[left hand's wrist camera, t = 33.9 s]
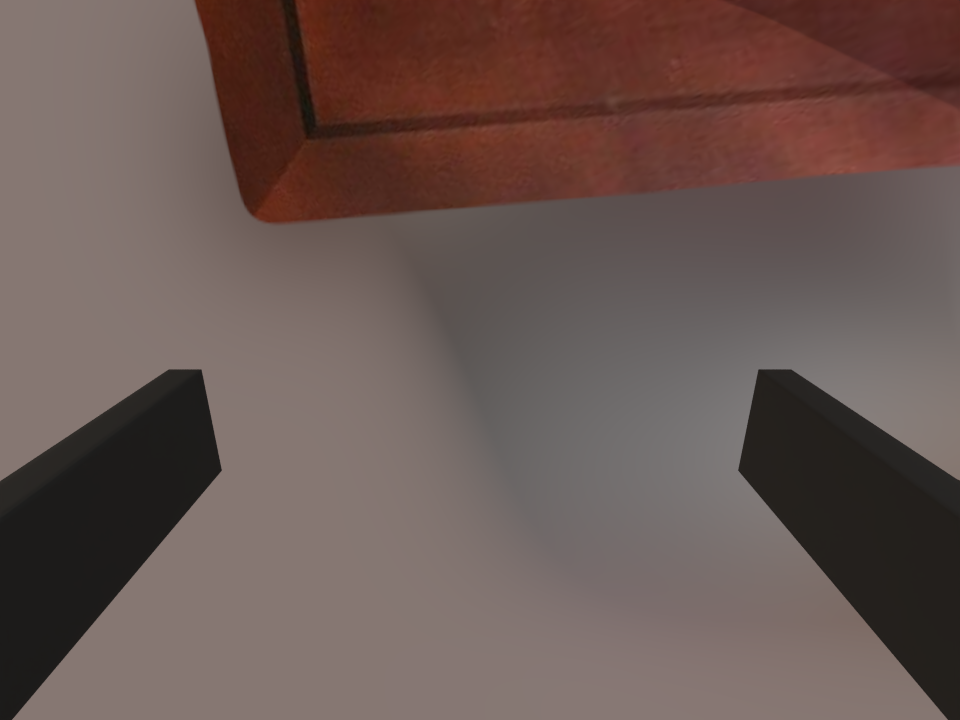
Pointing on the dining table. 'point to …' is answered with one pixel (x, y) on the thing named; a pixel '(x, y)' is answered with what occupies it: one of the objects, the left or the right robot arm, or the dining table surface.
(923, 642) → the left robot arm
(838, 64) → the dining table surface
